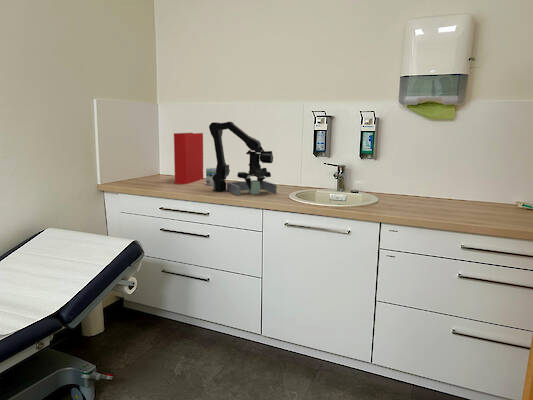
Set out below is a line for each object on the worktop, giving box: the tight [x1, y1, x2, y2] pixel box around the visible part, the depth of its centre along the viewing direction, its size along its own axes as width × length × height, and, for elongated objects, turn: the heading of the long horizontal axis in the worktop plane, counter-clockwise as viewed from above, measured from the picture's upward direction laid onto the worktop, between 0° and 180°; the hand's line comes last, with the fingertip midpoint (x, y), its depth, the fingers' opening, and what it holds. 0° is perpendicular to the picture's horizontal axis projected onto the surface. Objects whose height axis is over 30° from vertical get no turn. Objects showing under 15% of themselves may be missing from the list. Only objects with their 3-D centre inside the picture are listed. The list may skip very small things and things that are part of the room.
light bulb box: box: [205, 166, 217, 187], centre depth 251 cm, size 11×7×11 cm, turn 143°
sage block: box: [247, 179, 261, 195], centre depth 225 cm, size 5×5×7 cm
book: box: [173, 132, 204, 185], centre depth 261 cm, size 27×8×32 cm, turn 164°
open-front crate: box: [226, 180, 278, 197], centre depth 228 cm, size 24×17×5 cm
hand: (254, 189), depth 225 cm, fingers closed on sage block, 5 cm apart
